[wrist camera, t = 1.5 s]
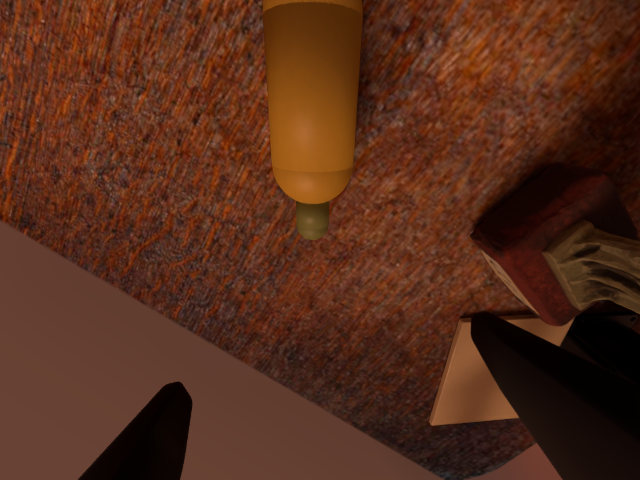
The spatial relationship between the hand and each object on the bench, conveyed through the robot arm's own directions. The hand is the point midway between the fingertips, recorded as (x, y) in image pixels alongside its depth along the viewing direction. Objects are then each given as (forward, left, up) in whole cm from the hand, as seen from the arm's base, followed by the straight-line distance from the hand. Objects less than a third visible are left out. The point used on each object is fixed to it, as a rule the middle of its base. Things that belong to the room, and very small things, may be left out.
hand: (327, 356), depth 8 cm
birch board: (-19, +18, -12) cm, 29 cm away
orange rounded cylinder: (0, -6, -12) cm, 14 cm away
